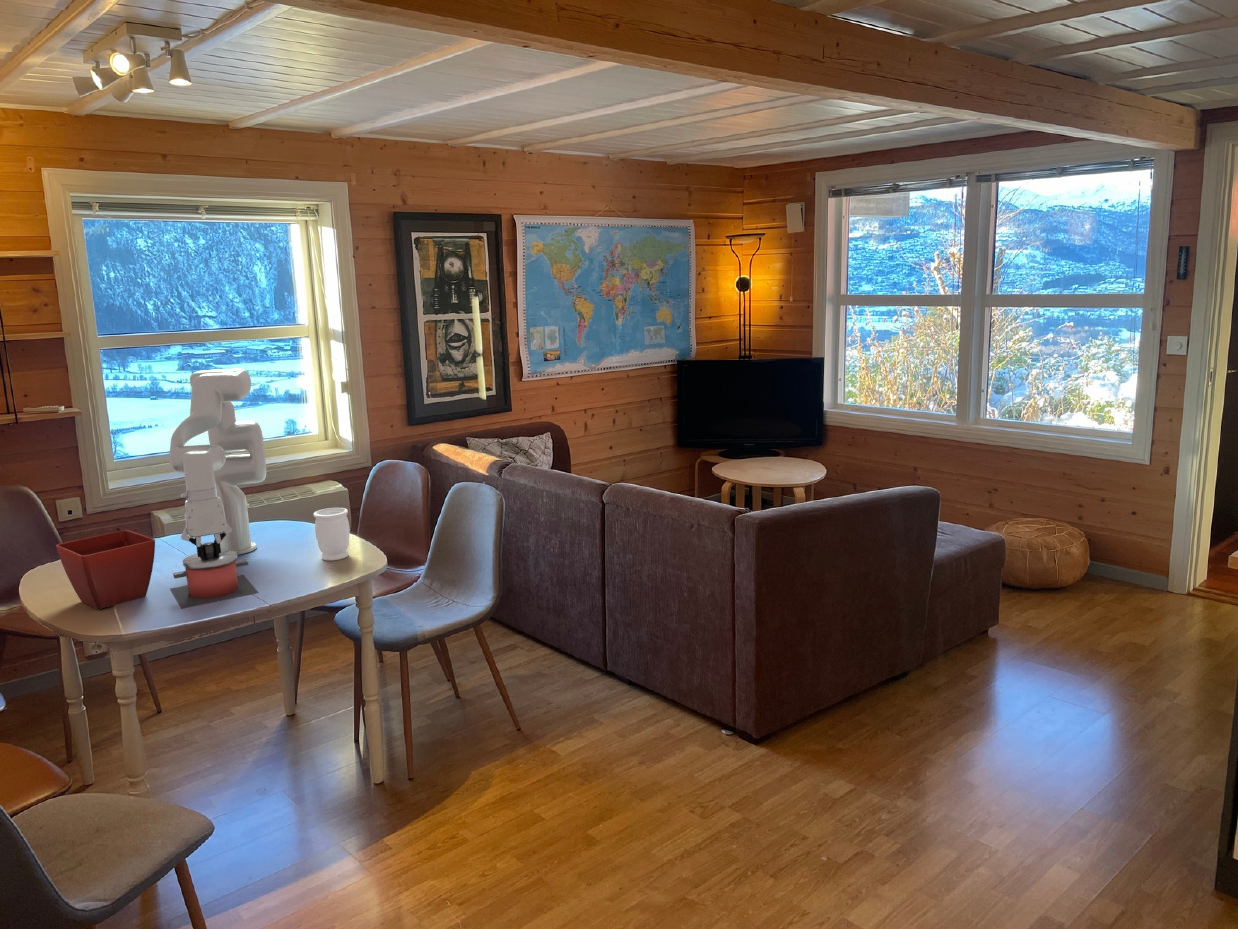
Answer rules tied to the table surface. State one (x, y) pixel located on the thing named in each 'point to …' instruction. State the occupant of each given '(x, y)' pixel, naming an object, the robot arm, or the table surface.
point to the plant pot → (109, 567)
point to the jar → (332, 533)
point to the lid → (209, 558)
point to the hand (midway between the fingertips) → (209, 557)
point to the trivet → (187, 601)
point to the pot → (212, 580)
